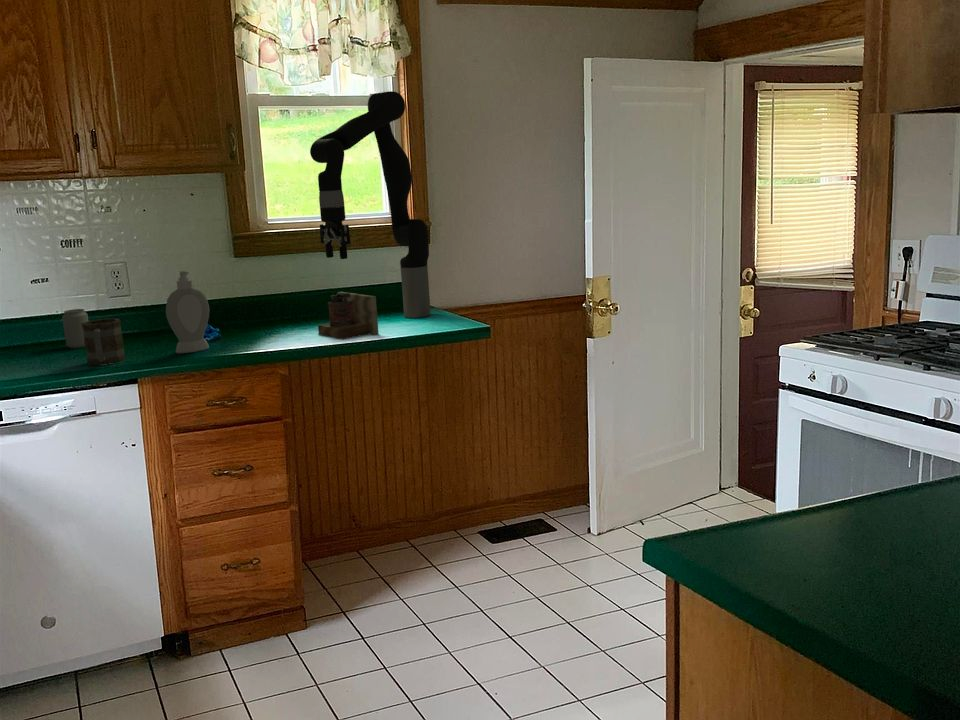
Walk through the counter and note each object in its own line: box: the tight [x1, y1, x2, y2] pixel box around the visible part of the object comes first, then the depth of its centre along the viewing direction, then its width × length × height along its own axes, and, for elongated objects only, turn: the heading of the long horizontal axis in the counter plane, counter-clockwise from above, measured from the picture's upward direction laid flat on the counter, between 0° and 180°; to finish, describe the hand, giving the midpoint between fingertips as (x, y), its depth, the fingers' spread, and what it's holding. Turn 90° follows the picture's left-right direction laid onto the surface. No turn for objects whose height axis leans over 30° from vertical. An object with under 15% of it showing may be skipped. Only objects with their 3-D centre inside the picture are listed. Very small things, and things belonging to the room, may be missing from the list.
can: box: [61, 308, 89, 350], centre depth 298 cm, size 8×8×12 cm
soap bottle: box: [165, 269, 210, 354], centre depth 278 cm, size 13×8×24 cm, turn 123°
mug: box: [81, 318, 127, 366], centre depth 268 cm, size 16×11×12 cm
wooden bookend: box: [317, 291, 380, 340], centre depth 295 cm, size 20×12×12 cm, turn 40°
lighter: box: [327, 292, 355, 327], centre depth 294 cm, size 8×3×10 cm, turn 108°
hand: (336, 258), depth 290 cm, fingers open, 8 cm apart
